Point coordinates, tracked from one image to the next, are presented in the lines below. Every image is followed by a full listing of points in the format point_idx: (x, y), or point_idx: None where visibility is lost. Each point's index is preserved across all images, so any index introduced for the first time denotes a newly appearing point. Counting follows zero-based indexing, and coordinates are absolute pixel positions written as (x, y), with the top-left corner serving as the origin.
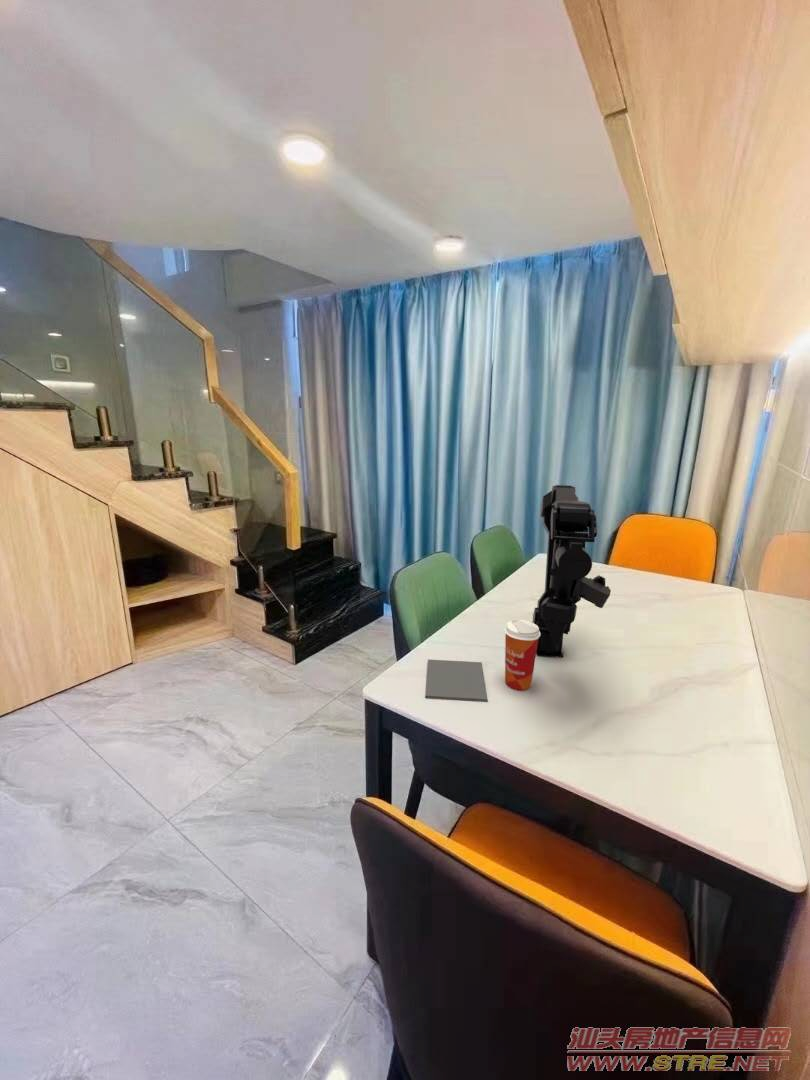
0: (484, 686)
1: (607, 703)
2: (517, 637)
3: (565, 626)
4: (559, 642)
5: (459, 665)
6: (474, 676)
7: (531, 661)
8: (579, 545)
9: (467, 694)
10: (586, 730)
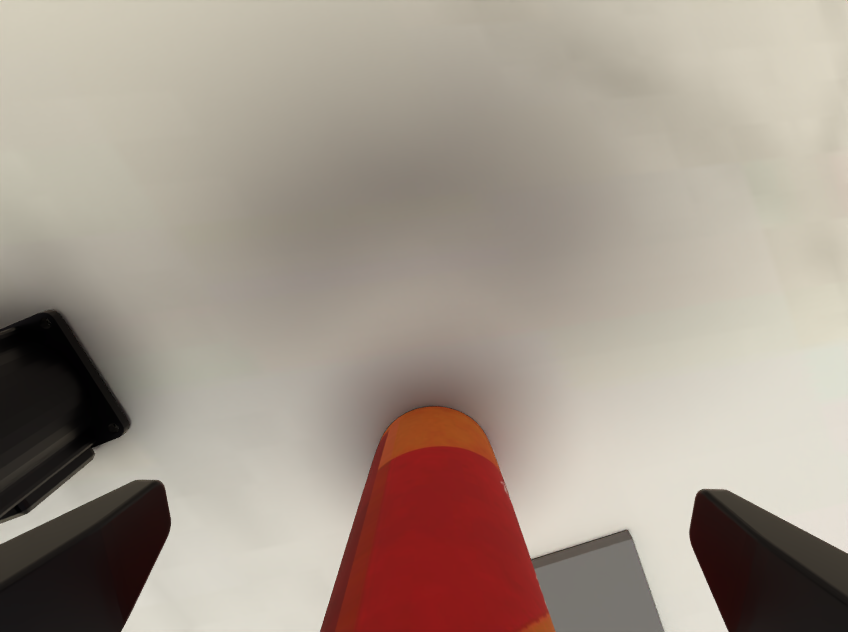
0: (542, 570)
1: (399, 30)
2: None
3: (145, 491)
4: (771, 517)
5: None
6: None
7: (489, 506)
8: None
9: (628, 607)
10: (683, 118)
